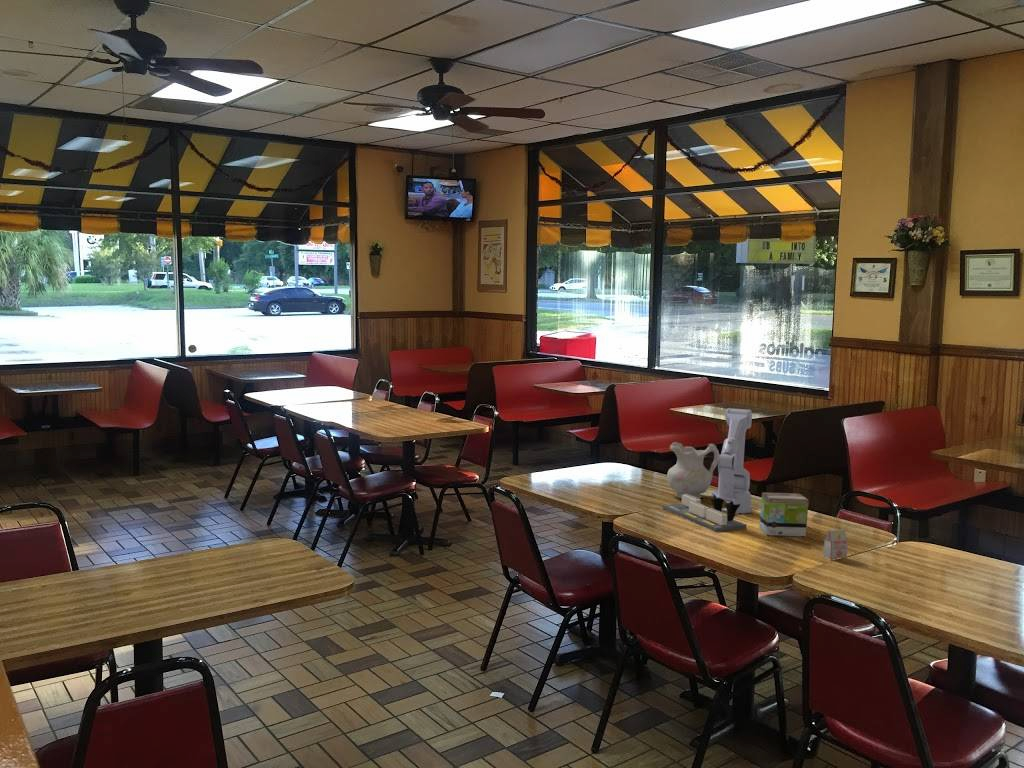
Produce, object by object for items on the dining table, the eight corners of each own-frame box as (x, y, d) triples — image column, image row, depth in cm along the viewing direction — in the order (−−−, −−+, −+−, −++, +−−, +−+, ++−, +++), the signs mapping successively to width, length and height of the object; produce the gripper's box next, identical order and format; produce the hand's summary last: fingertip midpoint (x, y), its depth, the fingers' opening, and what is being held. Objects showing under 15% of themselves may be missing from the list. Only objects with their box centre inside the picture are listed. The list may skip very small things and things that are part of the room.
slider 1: (686, 503, 364) (686, 492, 363) (700, 509, 354) (701, 498, 354) (681, 504, 363) (682, 493, 362) (695, 509, 353) (696, 498, 353)
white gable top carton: (823, 557, 300) (825, 529, 299) (839, 555, 302) (841, 528, 301) (830, 560, 297) (831, 532, 296) (846, 559, 299) (848, 530, 298)
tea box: (767, 536, 324) (769, 498, 322) (758, 529, 334) (760, 491, 332) (806, 537, 324) (809, 498, 323) (797, 529, 334) (799, 492, 333)
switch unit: (691, 506, 367) (691, 502, 367) (746, 528, 334) (746, 523, 334) (662, 508, 361) (662, 504, 361) (715, 531, 328) (715, 527, 328)
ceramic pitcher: (709, 495, 392) (710, 440, 392) (722, 502, 373) (723, 445, 372) (662, 494, 391) (663, 440, 390) (673, 502, 372) (674, 444, 371)
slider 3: (710, 518, 341) (711, 506, 340) (726, 524, 332) (727, 513, 331) (705, 518, 340) (706, 507, 339) (721, 525, 331) (722, 513, 330)
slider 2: (693, 511, 351) (694, 500, 351) (708, 517, 342) (709, 506, 342) (688, 511, 350) (689, 500, 350) (703, 517, 341) (704, 506, 341)
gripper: (706, 480, 341) (704, 514, 342) (729, 489, 327) (727, 523, 329) (720, 479, 344) (719, 512, 345) (744, 487, 330) (742, 522, 332)
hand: (724, 518), depth 337 cm, fingers open, 7 cm apart
